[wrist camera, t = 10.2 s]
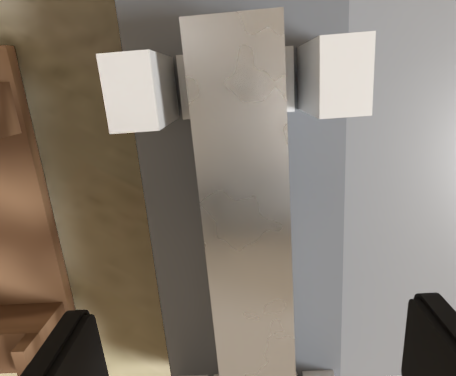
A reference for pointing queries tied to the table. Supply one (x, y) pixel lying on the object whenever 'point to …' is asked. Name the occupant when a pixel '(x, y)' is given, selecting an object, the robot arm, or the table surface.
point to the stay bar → (243, 184)
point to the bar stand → (25, 232)
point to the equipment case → (310, 171)
